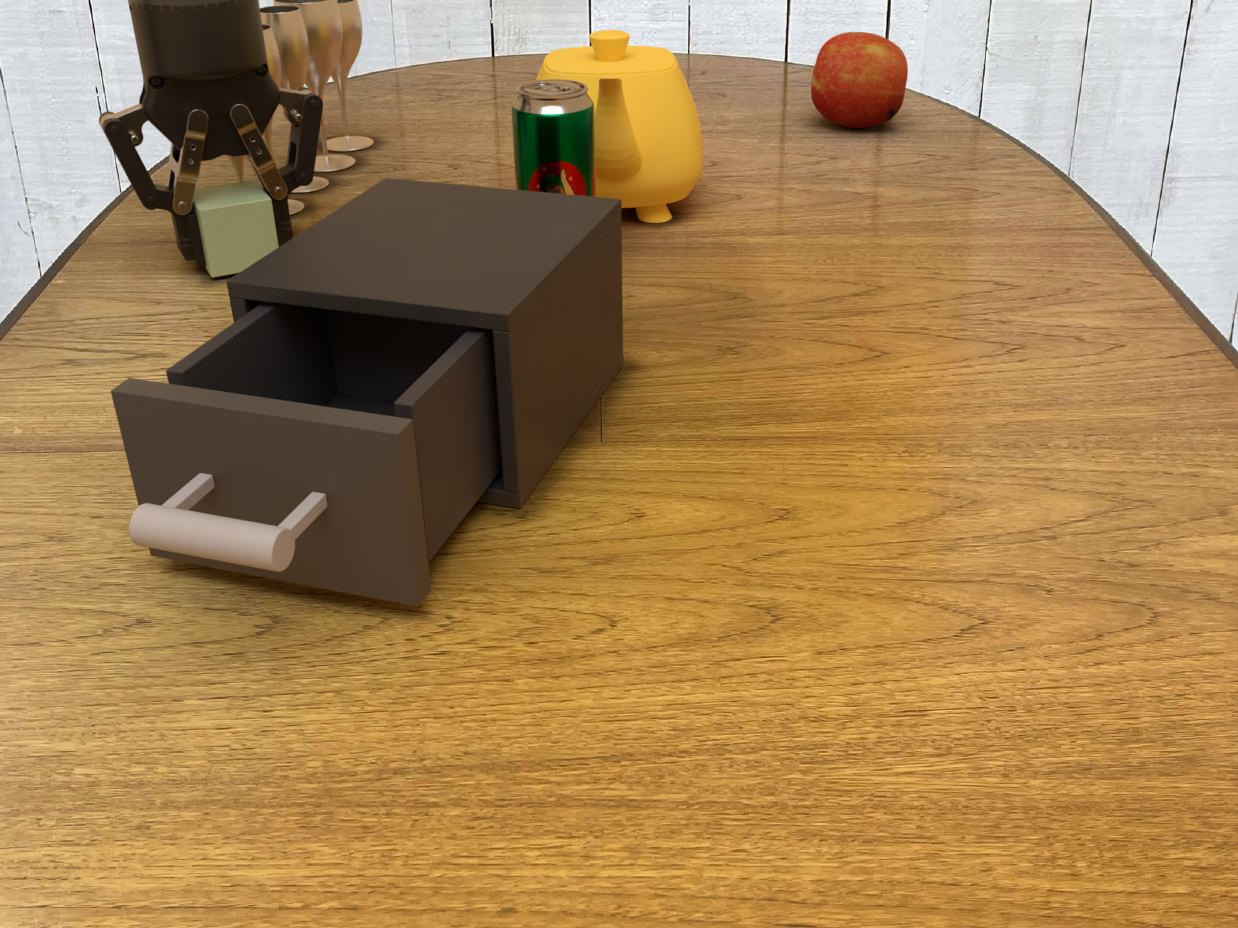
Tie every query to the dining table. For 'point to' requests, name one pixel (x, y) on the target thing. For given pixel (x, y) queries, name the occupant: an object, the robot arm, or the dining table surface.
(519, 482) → the cabinet
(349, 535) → the drawer
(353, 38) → the goblet set
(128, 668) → the dining table surface
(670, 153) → the teapot
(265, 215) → the block
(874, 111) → the apple
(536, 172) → the soda can
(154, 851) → the dining table surface
